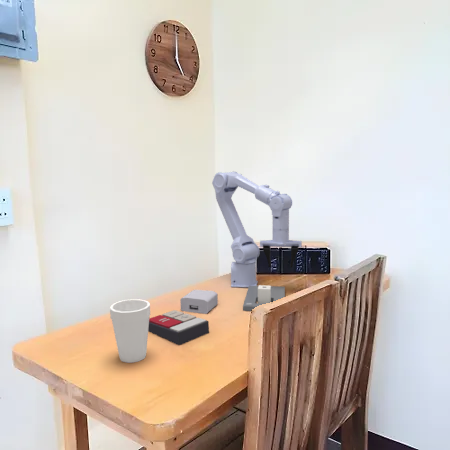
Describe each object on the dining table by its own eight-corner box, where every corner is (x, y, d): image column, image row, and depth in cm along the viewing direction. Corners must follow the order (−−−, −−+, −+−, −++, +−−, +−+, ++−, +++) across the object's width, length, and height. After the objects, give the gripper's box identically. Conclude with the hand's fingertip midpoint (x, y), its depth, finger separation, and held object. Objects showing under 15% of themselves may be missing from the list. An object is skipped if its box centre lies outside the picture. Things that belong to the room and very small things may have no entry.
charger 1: (224, 299, 143) (207, 314, 129) (199, 297, 146) (180, 311, 133) (224, 286, 143) (207, 300, 129) (199, 284, 146) (180, 297, 132)
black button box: (174, 308, 125) (209, 318, 115) (175, 322, 126) (209, 333, 115) (144, 318, 118) (178, 330, 107) (145, 333, 118) (179, 346, 108)
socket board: (242, 310, 132) (242, 305, 131) (249, 289, 153) (249, 284, 153) (284, 312, 130) (284, 306, 130) (284, 290, 151) (284, 285, 151)
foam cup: (155, 347, 106) (153, 298, 104) (149, 365, 97) (146, 312, 95) (118, 348, 106) (115, 299, 104) (108, 366, 97) (104, 312, 95)
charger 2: (257, 306, 135) (257, 288, 134) (258, 302, 139) (258, 284, 138) (270, 307, 135) (270, 288, 134) (270, 303, 138) (270, 285, 137)
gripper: (259, 230, 143) (259, 269, 145) (302, 230, 141) (301, 269, 143) (260, 227, 150) (260, 264, 152) (301, 227, 148) (301, 264, 150)
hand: (280, 266), depth 148 cm, fingers open, 7 cm apart
